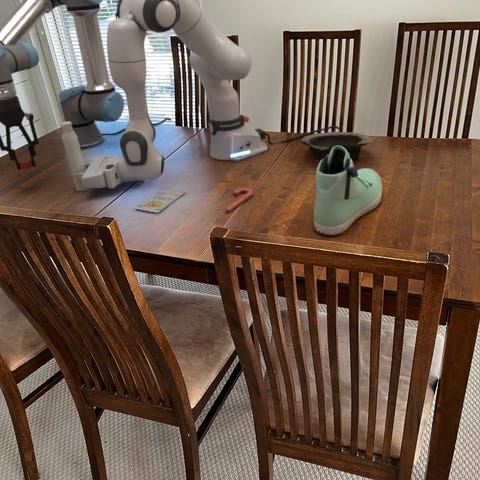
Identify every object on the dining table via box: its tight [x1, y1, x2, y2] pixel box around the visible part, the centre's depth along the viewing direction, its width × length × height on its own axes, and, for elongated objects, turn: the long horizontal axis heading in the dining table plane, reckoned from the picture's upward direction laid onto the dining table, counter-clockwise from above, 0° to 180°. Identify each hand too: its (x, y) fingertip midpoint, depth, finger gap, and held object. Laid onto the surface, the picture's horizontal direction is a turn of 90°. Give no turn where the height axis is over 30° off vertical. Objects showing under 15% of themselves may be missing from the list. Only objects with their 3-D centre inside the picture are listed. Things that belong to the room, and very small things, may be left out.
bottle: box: [60, 121, 90, 192], centre depth 159 cm, size 5×5×23 cm
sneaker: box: [313, 146, 383, 236], centre depth 133 cm, size 14×35×20 cm, turn 152°
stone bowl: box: [300, 131, 374, 164], centre depth 169 cm, size 25×25×9 cm
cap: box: [18, 157, 34, 170], centre depth 161 cm, size 4×4×2 cm
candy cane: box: [224, 187, 254, 213], centre depth 147 cm, size 6×15×2 cm, turn 145°
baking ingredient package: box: [134, 188, 184, 214], centre depth 151 cm, size 9×1×15 cm
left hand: (26, 166), depth 161 cm, fingers closed on cap, 4 cm apart
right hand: (75, 171), depth 162 cm, fingers closed on bottle, 5 cm apart
